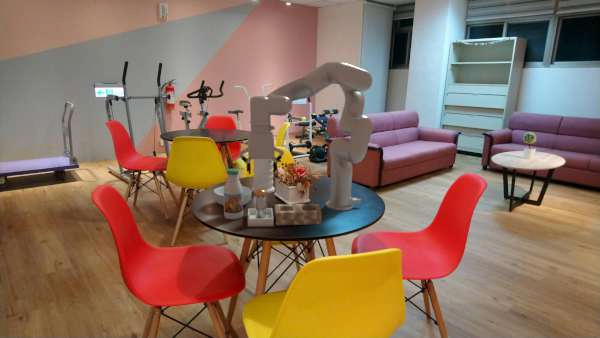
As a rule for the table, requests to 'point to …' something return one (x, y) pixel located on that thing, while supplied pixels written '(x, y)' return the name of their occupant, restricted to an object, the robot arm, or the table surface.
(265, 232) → the table surface
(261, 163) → the decorative container
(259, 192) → the pin
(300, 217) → the socket block
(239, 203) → the milk bottle
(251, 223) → the tray
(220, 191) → the cereal bowl
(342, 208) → the robot arm
